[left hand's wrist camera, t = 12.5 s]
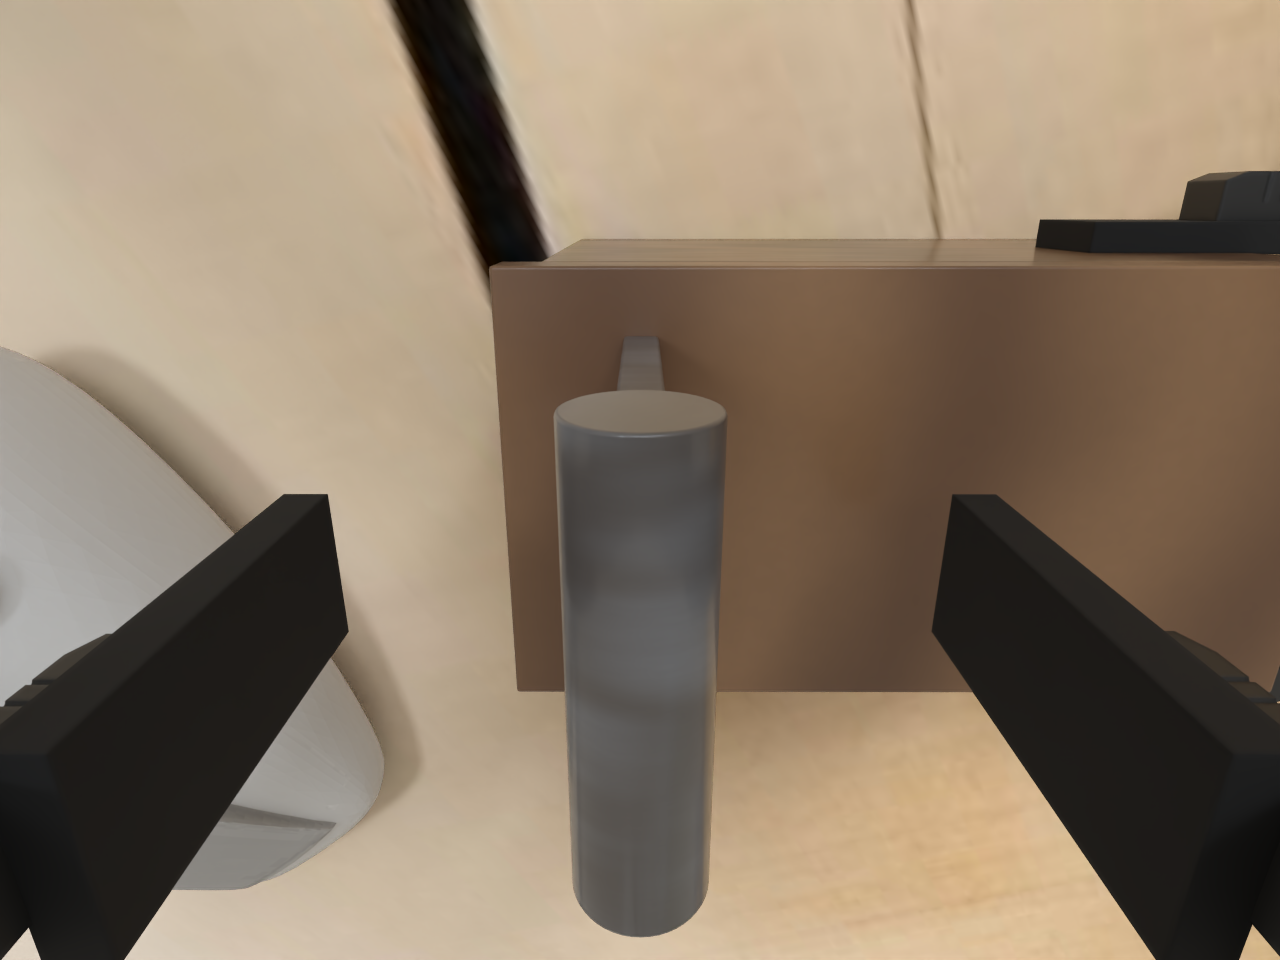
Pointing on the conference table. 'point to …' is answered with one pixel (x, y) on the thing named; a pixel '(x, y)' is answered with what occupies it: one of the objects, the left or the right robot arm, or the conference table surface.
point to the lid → (849, 493)
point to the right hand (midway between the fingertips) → (1027, 429)
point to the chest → (860, 251)
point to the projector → (126, 583)
